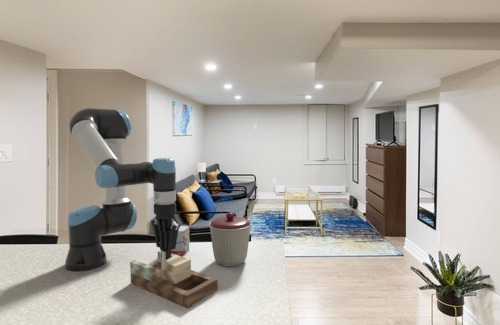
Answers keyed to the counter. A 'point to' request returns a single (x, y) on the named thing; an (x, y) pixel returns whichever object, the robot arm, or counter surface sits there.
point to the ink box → (182, 241)
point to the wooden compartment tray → (178, 293)
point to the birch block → (176, 269)
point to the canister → (230, 239)
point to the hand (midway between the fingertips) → (166, 267)
